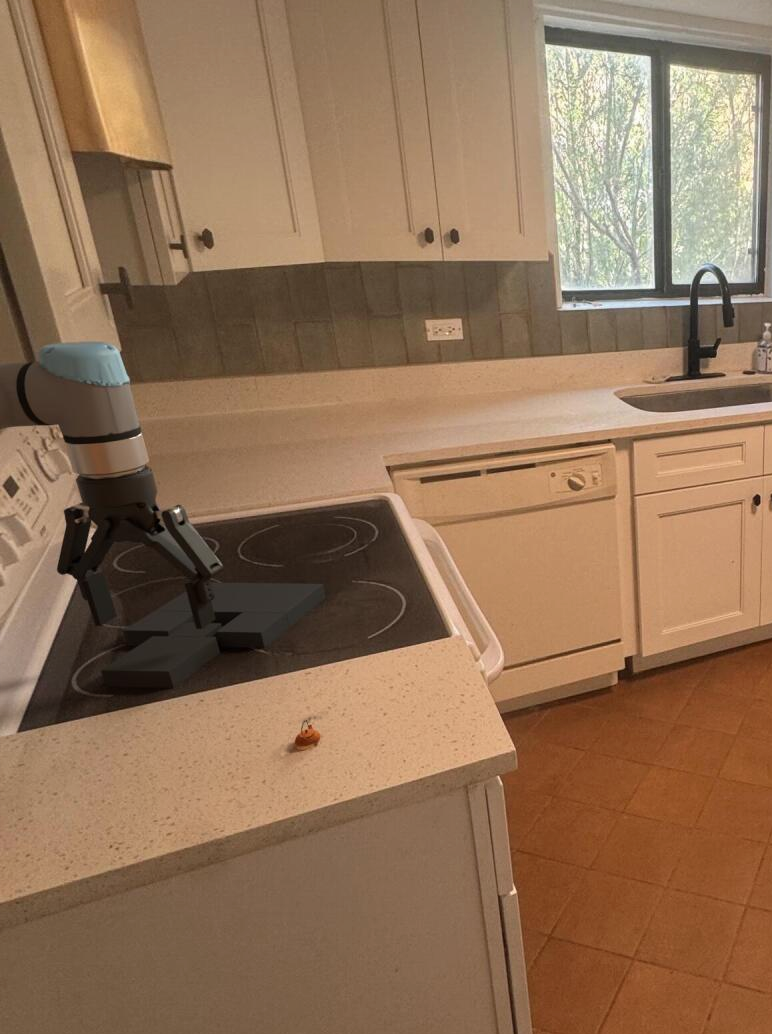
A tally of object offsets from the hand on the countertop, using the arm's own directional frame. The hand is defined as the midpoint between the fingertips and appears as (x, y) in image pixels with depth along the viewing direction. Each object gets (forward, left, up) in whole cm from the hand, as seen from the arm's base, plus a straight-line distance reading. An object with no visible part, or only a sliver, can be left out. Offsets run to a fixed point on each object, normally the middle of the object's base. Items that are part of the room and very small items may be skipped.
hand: (156, 622), depth 104 cm
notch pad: (0, +13, -8) cm, 15 cm away
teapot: (+27, -14, -8) cm, 32 cm away
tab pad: (0, +1, -8) cm, 8 cm away
